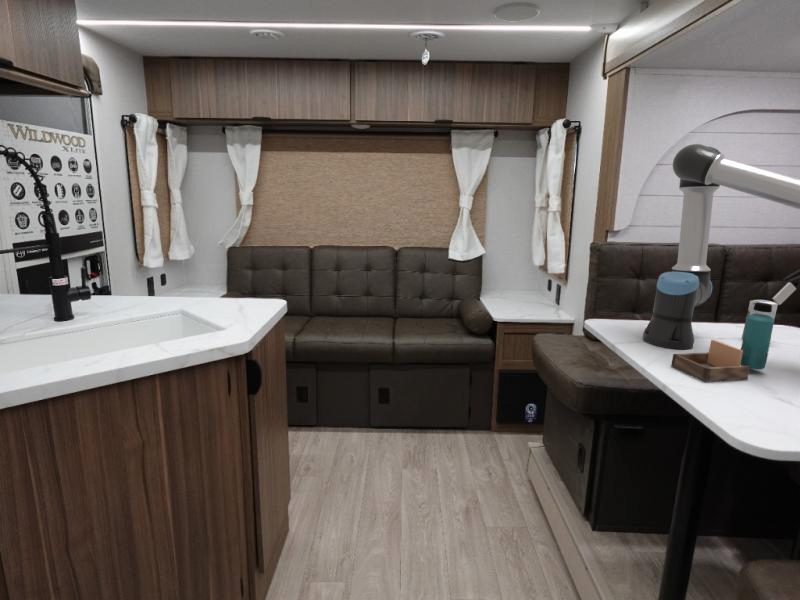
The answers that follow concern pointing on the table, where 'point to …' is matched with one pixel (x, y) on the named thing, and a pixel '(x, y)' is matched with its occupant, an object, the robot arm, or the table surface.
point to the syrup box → (752, 311)
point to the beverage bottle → (757, 337)
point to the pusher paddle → (723, 355)
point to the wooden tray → (707, 368)
